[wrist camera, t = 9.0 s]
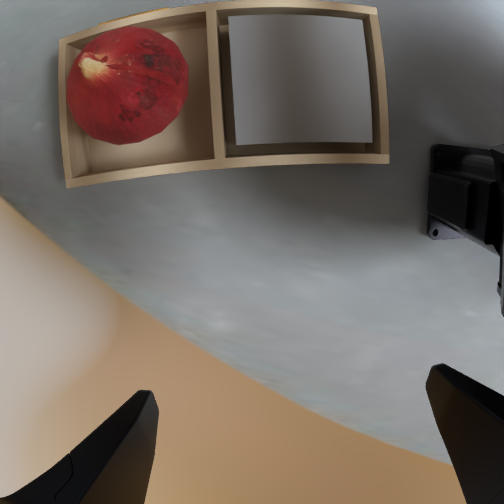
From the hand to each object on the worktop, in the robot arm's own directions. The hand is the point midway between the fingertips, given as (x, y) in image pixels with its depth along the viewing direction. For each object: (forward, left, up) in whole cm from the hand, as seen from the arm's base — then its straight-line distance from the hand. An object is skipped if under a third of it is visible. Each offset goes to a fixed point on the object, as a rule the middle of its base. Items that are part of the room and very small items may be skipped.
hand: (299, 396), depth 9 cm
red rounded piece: (+7, -10, -12) cm, 17 cm away
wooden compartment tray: (+2, -10, -12) cm, 16 cm away
